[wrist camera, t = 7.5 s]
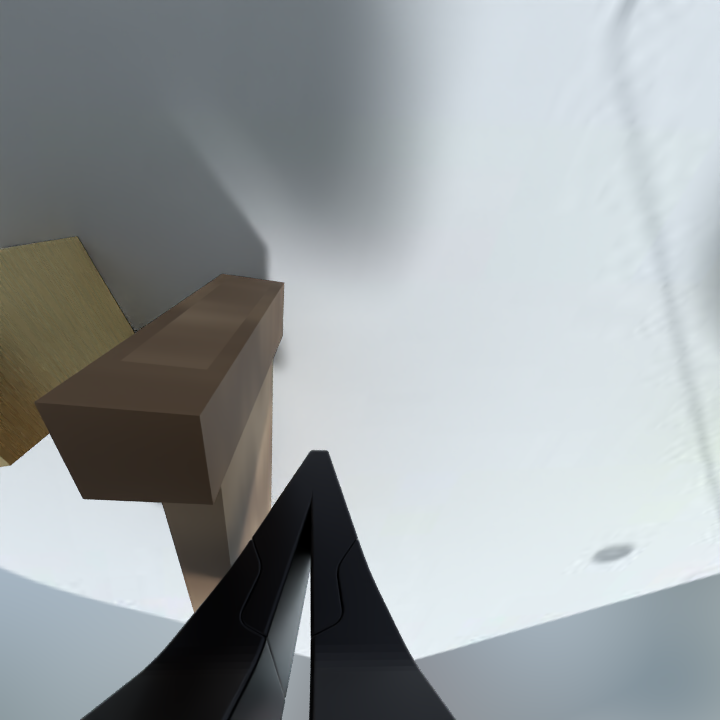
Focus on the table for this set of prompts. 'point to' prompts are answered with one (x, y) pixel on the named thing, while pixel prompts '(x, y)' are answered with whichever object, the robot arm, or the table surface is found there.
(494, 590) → the table surface
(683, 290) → the table surface
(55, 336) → the block
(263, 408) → the wooden t-bar
